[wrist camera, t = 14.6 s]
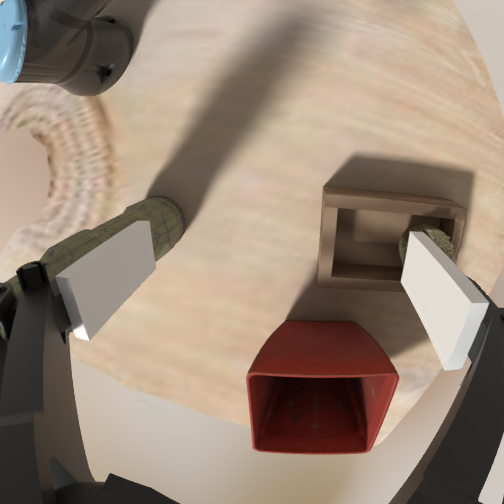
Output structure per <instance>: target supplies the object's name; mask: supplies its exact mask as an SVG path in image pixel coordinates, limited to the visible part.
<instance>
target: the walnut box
mask: <svg viewBox="0 0 504 504" xmlns="http://www.w3.org/2000/svg"><path fill="white" fill-rule="evenodd" d="M466 210H467V209H465V208H463V207H462V206H460V205H458V204H456V203H454V202H453V201H451V200H448V199H441V198H434V197H426V196H418V195H410V194H401V193H392V192H383V191H372V190H362V189H350V188H337V187H323V198H322V214H321V229H320V242H319V254H318V265H317V275H318V287H326V288H343V289H361V290H380V291H403V292H406V291H405V289H404V287H403V285H402V283H401V278H402V274H403V269H404V266H403V263H402V260H401V257H400V253H399V242H400V238H401V236H402V234H403V233H404V231H405V230H406V229H407V228H409V227H410V226H412V225H414V224H418V223H423V224H428V225H431V226H433V227H435V228H437V229H439V230H441V231H443V232H444V233H445V234H446V235H448V236H449V237H450V240H451V242H452V243H453V245H454V246H453V249H454V253H453V254H452V255H451V256H452V258H453V262H454V264H455V265H456V261H457V256H458V252H459V247H460V243H461V238H462V233H463V227H464V222H465V216H466Z"/></svg>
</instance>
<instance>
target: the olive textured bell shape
mask: <svg viewBox="0 0 504 504" xmlns="http://www.w3.org/2000/svg"><path fill="white" fill-rule="evenodd" d="M410 231H413V232H424V233H425V234H426V235H427V236H428V237H429V238H430V239H431V240H432V241H433V242H434V243H435V244H436V245H437V246H438V247H439V248H440V249H441V250H442V251H443V252H444V253H445V254H446V255H447V256H448V257H449V258H450V259H451V260H452V261H453V258H452V256H451V255H452V254H453V253H454V249H453V246H454V245H453V243H452V242H451V240H450V237H449V236H448V235H446V234H445V233H444V232H443V231H441V230H439V229H437V228H435V227H433V226H431V225H428V224H423V223H418V224H414V225H412V226H410V227H409V228H407V229H406V230H405V231H404V233H403V234H402V236H401V238H400V242H399V253H400V257H401V260H402V263H403V266H404V263H405V258H406V253H407V247H408V241H409V235H410Z"/></svg>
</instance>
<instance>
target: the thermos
mask: <svg viewBox="0 0 504 504" xmlns="http://www.w3.org/2000/svg"><path fill="white" fill-rule="evenodd" d="M136 221H150V228H151V236H152V244H153V251H154V258H155V262H156V261H158V260H159V259H160V258H161V257H163V256H164V255H165V254H166V253H168V252H169V251H170V250H171V249H172V248H173V247H174V245H175V244H176V243H177V242H178V241H179V240H180V239H181V237H182V236H183V233H184V229H185V219H184V216H183V213H182V211H181V209H180V208H179V206H178V205H177V204H176V203H175V202H174V201H172V200H171V199H169V198H167V197H164V196H154V197H151V198H149V199H145V200H142V201H140V202H138V203H135V204H133V205H131V206H129V207H127V208H126V210H125V211H124V213H123V214H121V215H119V216H117V217H115V218H113V219H111V220H109V221H107V222H105V223H103V224H101V225H100V226H98V227H96V228H94V229H92V230H87V229H85V230H83V231H80V232H78V233H76V234H74V235H72V236H70V237H68V238H66V239H65V240H63V241H61V242H59V243H57V244H56V245H54V246H52V247H50V248H49V249H48V250H47V251H46V253H45V254H44V255H43V256H42V258H41V259H40V260H39V261H43V262H44V264H45V268H46V271H47V275H48V278H49V282H51V281H53V280H54V279H55V278H56V277H55V276H57V275H58V274H59V273H61V272H62V271H63V270H65V269H66V268H68V267H69V266H70V265H72V264H73V263H75V262H76V261H77V260H79V259H80V258H82V257H83V256H85V255H86V254H87V253H89V252H90V251H92V250H93V249H95V248H96V247H98V246H99V245H101V244H102V243H104V242H105V241H107V240H108V239H110V238H111V237H113V236H114V235H116V234H117V233H119V232H120V231H122V230H124V229H125V228H127V227H128V226H130V225H131V224H133V223H135V222H136ZM6 282H9V283H12V286H13V289H14V292H15V293H21V292H22V289H21V286H20V283H19V280H18V276H17V275H16V276H14V277H12V278H11V279H9V280H8V281H6ZM6 282H5V283H6ZM66 331H67V334H68V337H69V334H70V332H73V329H72V326H70V327H69V328H68V329H67V330H66ZM0 333H1V336H2V338H4V336H5V335H4V333H3V331H2V328H1V326H0Z"/></svg>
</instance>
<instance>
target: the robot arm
mask: <svg viewBox="0 0 504 504" xmlns="http://www.w3.org/2000/svg"><path fill="white" fill-rule="evenodd" d="M111 1H112V0H5V1H3V2H2V3H1V4H0V82H6V83H9V84H11V83H53V84H57V85H59V86H60V87H62V88H64V89H65V90H67V91H69V92H70V93H72V94H74V95H78V96H95V95H98V94H100V93H102V92H104V91H106V90H107V89H109V88H110V87H111V86H112V85H113V84H114V83H115V82H116V81H117V80H118V79H119V78H120V76H121V75H122V74H123V72H124V70H125V69H126V67H127V65H128V62H129V60H130V57H131V53H132V46H133V39H132V34H131V31H130V29H129V27H128V26H127V24H126V23H125V22H123V21H122V20H120V19H117V18H115V17H113V16H108V15H98V14H99V13H100V12H101V11H102V10H103V9H104V8H105V7H106V6H107V5H108V4H109V3H110V2H111ZM155 269H156V264H155V258H154V251H153V244H152V236H151V228H150V221H136V222H135V223H133V224H131V225H130V226H128V227H127V228H125V229H124V230H122V231H120V232H119V233H117V234H116V235H114V236H113V237H111V238H110V239H108V240H107V241H105V242H104V243H102V244H101V245H99V246H98V247H96V248H95V249H93V250H92V251H90V252H89V253H87V254H86V255H85V256H83V257H82V258H80V259H79V260H77V261H76V262H75V263H73V264H72V265H70V266H69V267H68V268H66V269H65V270H63V271H62V272H61V273H59V274H58V275H57V276H55V277H56V278H55V279H54V280H53V281H51V282H49V278H48V275H47V271H46V268H45V264H44V262H43V261H33V262H30V263H27V264H25V265H23V266H21V267H20V268H18V269H17V271H16V273H17V276H18V280H19V283H20V286H21V289H22V292H21V293H15V292H14V289H13V286H12V283H9V282H6V283H0V326H1V328H2V331H3V333H4V335H5V336H4V338H2V336H1V333H0V504H180V503H178V502H176V501H174V500H172V499H170V498H168V497H166V496H165V495H163V494H161V493H159V492H157V491H156V490H154V489H152V488H150V487H147V486H144V485H141V484H138V483H135V482H132V481H129V480H127V479H124V478H122V477H119V476H116V475H114V474H111V473H110V474H109V476H108V478H107V480H106V481H105V482H96V481H95V480H94V478H93V477H92V474H91V472H90V469H89V467H88V462H87V459H86V454H85V450H84V445H83V441H82V436H81V431H80V426H79V421H78V415H77V409H76V402H75V395H74V388H73V380H72V371H71V360H70V346H69V337H68V334H67V331H66V330H67V329H68V328H69V327H70V326H72V329H73V331H74V334H75V337H77V338H81V339H84V340H88V341H90V340H91V339H92V337H93V336H94V335H95V334H96V333H97V332H98V331H99V330H100V328H101V327H102V326H103V325H104V324H105V323H106V322H107V321H108V320H109V318H110V317H111V316H112V315H113V314H114V313H115V312H116V311H117V310H118V309H119V307H120V306H121V305H122V304H123V303H124V302H125V301H126V300H127V299H128V298H129V297H130V296H131V295H132V294H133V292H134V291H135V290H136V289H137V288H138V287H139V286H140V285H141V284H142V283H143V282H144V281H145V280H146V279H147V278H148V277H149V276H150V275H151V274H152V273H153V272H154V270H155ZM401 283H402V285H403V287H404V289H405V291H406V292H407V294H408V296H409V298H410V300H411V302H412V304H413V306H414V308H415V309H416V311H417V313H418V315H419V317H420V319H421V321H422V323H423V325H424V327H425V329H426V331H427V333H428V336H429V338H430V340H431V342H432V344H433V346H434V348H435V350H436V353H437V355H438V357H439V359H440V362H441V364H442V366H443V368H444V370H454V369H461V368H462V366H463V364H464V362H465V360H466V358H467V356H469V358H470V360H471V362H472V363H471V365H470V367H469V369H468V371H467V373H466V375H465V377H464V379H463V381H462V382H461V384H460V386H461V388H460V389H459V392H458V394H457V396H456V398H455V400H454V402H453V404H452V406H451V408H450V410H449V412H448V414H447V416H446V418H445V420H444V421H443V423H442V425H441V427H440V429H439V430H438V432H437V434H436V436H435V437H434V439H433V441H432V442H431V444H430V446H429V447H428V449H427V450H426V452H425V454H424V455H423V457H422V459H421V460H420V461H419V463H418V465H417V466H416V467H415V469H414V470H413V472H412V473H411V475H410V476H409V477H408V479H407V480H406V482H405V483H404V484H403V486H402V487H401V488H400V490H399V491H398V492H397V494H396V495H395V496H394V498H393V499H392V500H391V501H390V503H389V504H483V503H481V502H478V498H479V495H480V492H481V490H482V488H483V486H484V484H485V481H486V479H487V477H488V474H489V472H490V469H491V467H492V464H493V462H494V459H495V456H496V454H497V451H498V448H499V445H500V442H501V439H502V436H503V433H504V308H498V307H497V306H496V305H495V304H494V302H493V301H492V300H491V299H490V298H489V296H488V295H486V293H485V292H484V291H483V290H481V287H480V286H479V285H478V284H477V283H476V282H475V281H474V280H472V279H470V278H469V277H467V276H466V275H465V274H464V273H463V272H462V271H461V270H460V269H459V268H458V267H457V266H456V265H455V264H454V262H453V261H452V260H451V259H450V258H449V257H448V256H447V255H446V254H445V253H444V252H443V251H442V250H441V249H440V248H439V247H438V246H437V245H436V244H435V243H434V242H433V241H432V240H431V239H430V238H429V237H428V236H427V235H426V234H425V233H424V232H413V231H410V235H409V241H408V247H407V253H406V258H405V263H404V269H403V274H402V278H401ZM502 504H504V497H503V502H502Z"/></svg>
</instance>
